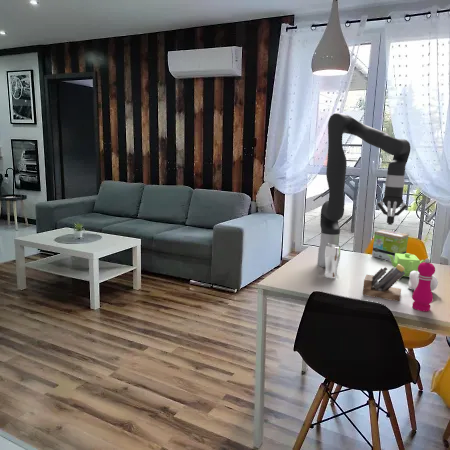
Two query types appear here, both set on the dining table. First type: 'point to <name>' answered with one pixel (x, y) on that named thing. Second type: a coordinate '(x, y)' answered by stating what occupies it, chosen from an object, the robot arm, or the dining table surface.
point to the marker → (396, 270)
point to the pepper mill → (423, 287)
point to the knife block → (375, 290)
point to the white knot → (415, 280)
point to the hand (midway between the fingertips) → (389, 224)
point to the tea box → (389, 244)
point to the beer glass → (332, 260)
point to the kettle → (406, 262)
